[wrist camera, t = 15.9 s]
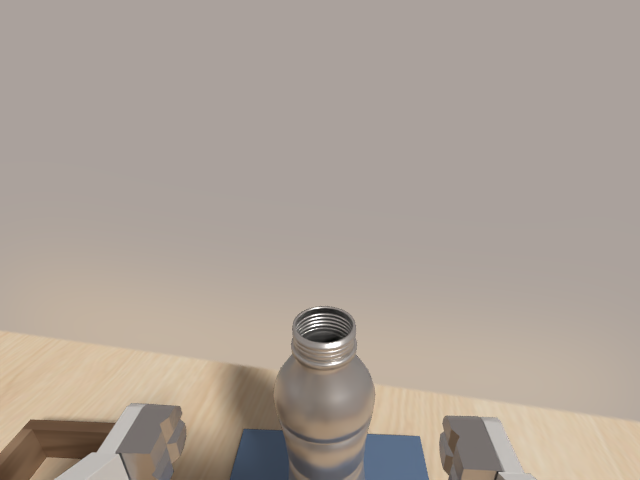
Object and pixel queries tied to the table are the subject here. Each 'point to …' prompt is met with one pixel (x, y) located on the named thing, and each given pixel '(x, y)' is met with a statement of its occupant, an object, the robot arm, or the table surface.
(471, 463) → the robot arm
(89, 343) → the table surface
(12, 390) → the table surface
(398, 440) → the rubber mat
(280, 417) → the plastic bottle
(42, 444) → the walnut holder
